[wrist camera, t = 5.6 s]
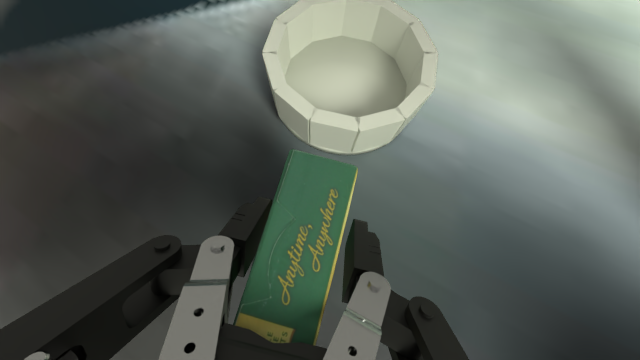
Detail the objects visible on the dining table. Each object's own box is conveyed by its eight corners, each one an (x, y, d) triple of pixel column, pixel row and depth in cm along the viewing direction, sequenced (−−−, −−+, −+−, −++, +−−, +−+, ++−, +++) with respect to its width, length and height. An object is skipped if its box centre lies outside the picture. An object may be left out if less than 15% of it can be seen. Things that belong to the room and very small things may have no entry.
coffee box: (307, 314, 19) (301, 421, 7) (272, 303, 19) (201, 389, 7) (333, 215, 22) (365, 158, 9) (302, 206, 22) (290, 138, 9)
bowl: (419, 51, 28) (442, 8, 23) (404, 170, 23) (428, 147, 18) (293, 25, 28) (290, -23, 23) (255, 136, 24) (241, 105, 19)
